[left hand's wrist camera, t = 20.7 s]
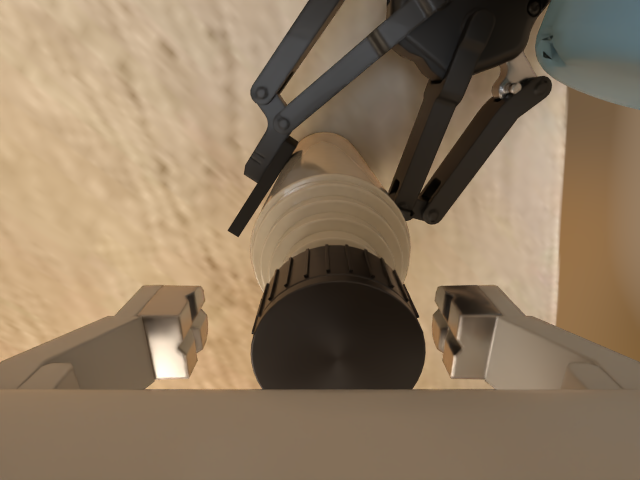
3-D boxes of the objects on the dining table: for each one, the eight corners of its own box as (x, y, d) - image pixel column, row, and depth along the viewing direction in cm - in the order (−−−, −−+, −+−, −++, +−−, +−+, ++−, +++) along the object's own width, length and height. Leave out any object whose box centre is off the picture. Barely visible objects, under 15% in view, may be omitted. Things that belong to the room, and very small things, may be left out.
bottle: (272, 154, 28) (158, 294, 8) (342, 117, 28) (406, 173, 7) (308, 219, 30) (287, 463, 10) (374, 187, 29) (496, 385, 9)
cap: (432, 268, 10) (459, 310, 8) (375, 383, 11) (387, 442, 9) (285, 222, 9) (277, 254, 7) (245, 348, 10) (229, 403, 9)
